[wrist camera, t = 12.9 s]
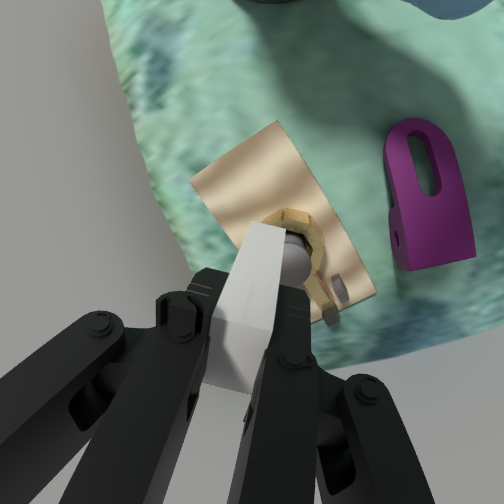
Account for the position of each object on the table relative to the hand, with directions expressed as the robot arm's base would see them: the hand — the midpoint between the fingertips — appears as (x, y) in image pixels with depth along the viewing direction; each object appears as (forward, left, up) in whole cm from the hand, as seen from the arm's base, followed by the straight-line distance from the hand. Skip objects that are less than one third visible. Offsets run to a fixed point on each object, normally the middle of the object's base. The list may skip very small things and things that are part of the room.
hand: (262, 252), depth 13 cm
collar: (+13, -5, -25) cm, 29 cm away
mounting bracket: (+12, +14, -27) cm, 32 cm away
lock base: (+9, -5, -26) cm, 28 cm away
